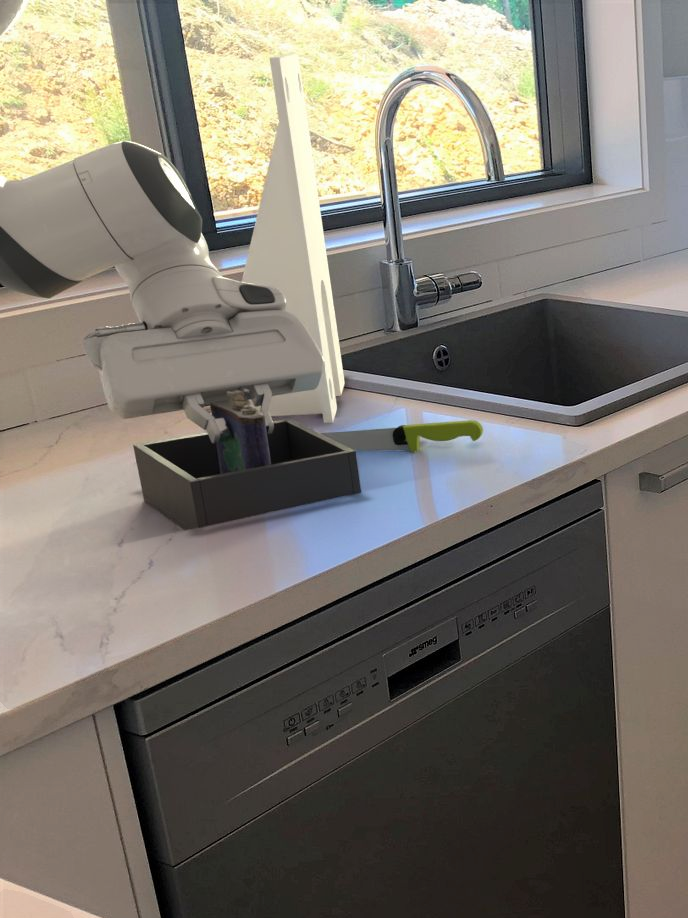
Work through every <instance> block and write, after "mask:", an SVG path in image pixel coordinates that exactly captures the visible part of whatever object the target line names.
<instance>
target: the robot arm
mask: <svg viewBox="0 0 688 918" xmlns="http://www.w3.org/2000/svg"><path fill="white" fill-rule="evenodd" d="M28 2H29V0H0V38H2V37H3V36H4V35H5V34H6V33H7V32H8V31H9V30H10V29H11V28H12V26H13V25H14V24H15V23H16V21H17V20H18V19H19V17H20V15H21V14H22V13H23V11H24V10H25V8H26V6H27V4H28ZM202 232H203V218H202V216H201V214H200V212H199V210H198V207H197V205H196V203H195V201H194V199H193V197H192V194H191V192H190V190H189V188H188V186H187V184H186V182H185V181H184V179H183V177H182V175H181V173H180V172H179V170H178V169H177V168H176V166H175V165H174V163H172V162H171V160H169V159H168V157H167V156H165V154H162V153H161V152H158V151H157V150H154V149H152V148H149V147H148V146H145V145H142V144H140V143H138V142H134V141H129V140H122V141H119V142H113V143H111V144H109V145H105V146H102V147H100V148H97V149H94V150H91V151H89V152H87V153H84V154H81V155H79V156H76V157H74V158H73V159H72V160H69V161H67V162H64V163H62V164H59V165H56V166H54V167H52V168H49V169H47V170H43V171H41V172H39V173H36V174H34V175H31V176H28V177H25V178H23V179H18V180H17V179H9V178H7V177H5V176H3V175H2V174H1V173H0V284H1V285H2V286H3V287H4V288H7V289H9V290H12V291H14V292H18V293H20V294H24V295H28V296H32V297H37V298H42V299H51V298H53V297H55V296H58V295H59V294H61V293H63V292H65V291H67V290H69V289H71V288H72V287H75V286H76V285H78V284H80V283H82V282H83V280H85V279H87V278H90V277H92V276H94V275H95V276H96V275H98V274H99V273H102V272H104V271H107V270H110V269H112V268H115V270H116V272H117V274H118V275H119V276H120V278H121V279H122V280H123V281H124V282H125V283H126V285H127V287H128V289H129V299H130V303H131V305H132V308H133V310H134V313H135V314H136V315H135V316H137V319H138V321H139V322H133V323H125V324H122V325H118V326H117V325H115V326H100V327H95V328H94V329H93V332H91V333H88V334H87V335H86V336H85V337H84V338H83V341H82V349H83V351H84V354H85V356H86V358H87V361H88V362H89V363H90V364H91V365H92V366H93V367H94V368H96V369H97V370H98V373H99V374H98V375H99V377H100V378H99V379H100V383H101V387H102V390H103V395H104V397H105V400H106V403H107V405H108V409H109V410H110V412H111V413H113V414H114V415H115V416H117V417H119V418H121V419H123V420H128V419H129V420H130V419H135V418H141V417H147V416H155V415H159V414H166V413H172V412H178V411H179V412H180V411H184V414H185V416H186V418H187V419H188V420H190V421H191V422H192V423H194V425H196V426H198V427H200V428H201V429H202V430H204V431H206V433H208V435H209V438H210V440H211V442H212V443H219V442H225V441H229V437H230V430H229V427H227V426H226V421H225V419H224V418H217V419H215V418H214V417H213V416H212V415H211V413H209V412H208V411H207V410H206V409H205V408H204V407H210V404H211V403H215V402H218V401H230V399H231V397H229V396H228V395H227V391H230V392H233V391H236V390H239V391H242V392H243V390H244V389H247V390H249V393H247V392H244V397H245V398H246V399H247V400H250V399H251V400H252V402H253V404H254V406H255V407H257V406H261V408H260V412H261V413H262V414H263V415H264V416H265V422H266V432H267V434H272V432H273V429H274V423H273V421H274V420H273V419H272V416H270V414H269V412H268V411H269V407H270V402H271V397H272V396H276V395H282V394H289V393H295V392H301V391H308V390H314V389H316V388H317V387H318V385H319V383H320V381H321V379H322V377H323V374H324V370H325V362H324V359H323V356H322V354H321V352H320V350H319V348H318V347H317V345H316V343H315V341H314V339H313V338H312V336H311V334H310V333H309V331H308V330H307V328H306V327H305V325H304V324H303V323H302V321H301V320H300V319H299V318H298V317H297V316H295V315H294V314H292V313H291V312H288V311H285V307H286V299H285V296H284V294H283V292H282V291H281V290H280V289H278V288H275V287H270V286H263V285H256V284H250V283H244V282H242V281H239V280H235V279H231V278H227V277H223V274H221V272H220V271H219V269H217V267H216V266H215V265H214V264H213V262H212V261H211V259H210V250H209V246H208V244H207V241H206V238H205V237H204V235H203V233H202Z"/></svg>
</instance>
